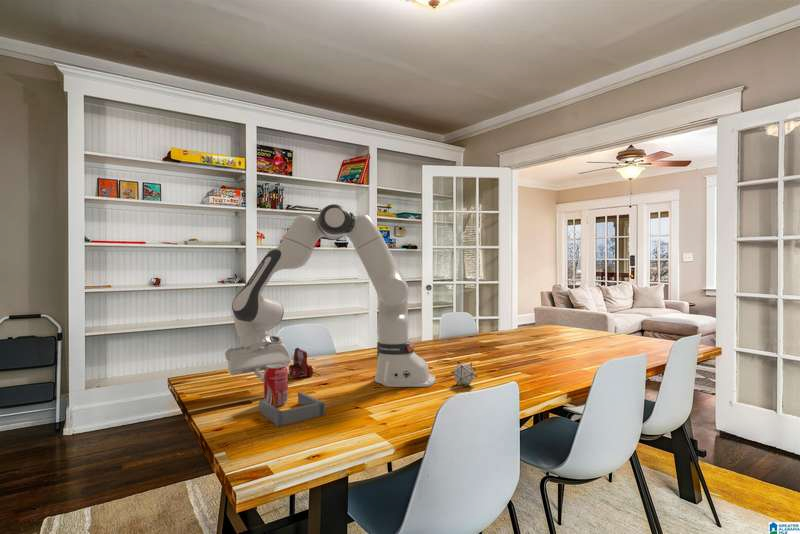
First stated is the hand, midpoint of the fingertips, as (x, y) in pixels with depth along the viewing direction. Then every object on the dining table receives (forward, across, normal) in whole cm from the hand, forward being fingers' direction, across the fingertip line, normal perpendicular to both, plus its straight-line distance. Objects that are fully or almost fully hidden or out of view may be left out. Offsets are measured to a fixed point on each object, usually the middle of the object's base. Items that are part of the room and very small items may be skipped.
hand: (266, 380), depth 141 cm
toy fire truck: (-9, +21, +17) cm, 28 cm away
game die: (+26, +60, -18) cm, 68 cm away
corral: (+17, 0, -9) cm, 19 cm away
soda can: (+10, 0, -2) cm, 10 cm away
